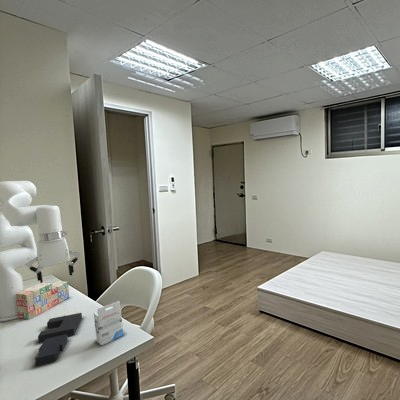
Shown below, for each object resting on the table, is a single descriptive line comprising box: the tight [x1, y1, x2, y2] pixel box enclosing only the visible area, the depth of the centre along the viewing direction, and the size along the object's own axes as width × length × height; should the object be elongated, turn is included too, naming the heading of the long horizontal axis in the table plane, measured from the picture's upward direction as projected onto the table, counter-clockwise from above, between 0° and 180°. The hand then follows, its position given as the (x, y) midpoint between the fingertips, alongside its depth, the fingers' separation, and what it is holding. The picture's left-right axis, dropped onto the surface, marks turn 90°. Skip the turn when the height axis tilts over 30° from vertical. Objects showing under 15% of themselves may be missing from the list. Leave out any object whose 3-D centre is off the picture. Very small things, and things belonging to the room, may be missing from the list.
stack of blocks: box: [16, 280, 70, 320], centre depth 133 cm, size 21×6×12 cm, turn 168°
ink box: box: [93, 300, 124, 346], centre depth 105 cm, size 8×5×15 cm, turn 140°
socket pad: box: [37, 312, 83, 344], centre depth 113 cm, size 12×14×3 cm
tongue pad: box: [34, 334, 69, 367], centre depth 98 cm, size 12×7×3 cm, turn 22°
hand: (56, 278), depth 107 cm, fingers open, 9 cm apart
